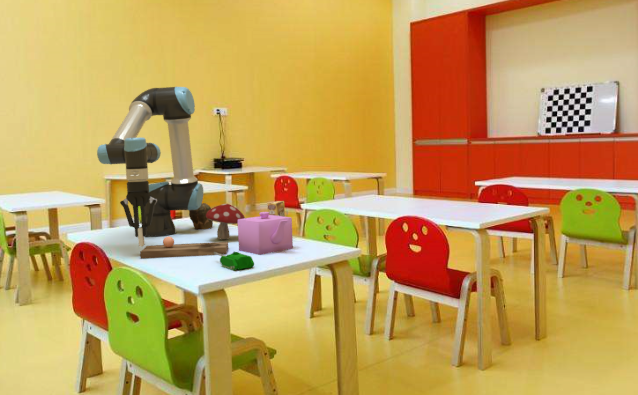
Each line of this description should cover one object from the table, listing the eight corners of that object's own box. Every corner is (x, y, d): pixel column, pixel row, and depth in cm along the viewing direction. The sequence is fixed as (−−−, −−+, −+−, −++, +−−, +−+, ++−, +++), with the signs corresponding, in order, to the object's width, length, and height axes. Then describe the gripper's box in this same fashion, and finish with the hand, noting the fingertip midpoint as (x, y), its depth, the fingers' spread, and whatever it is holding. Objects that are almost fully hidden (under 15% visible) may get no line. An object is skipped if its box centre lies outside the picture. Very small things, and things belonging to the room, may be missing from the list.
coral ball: (164, 246, 212) (163, 235, 212) (175, 246, 212) (174, 235, 212) (162, 248, 208) (161, 237, 208) (173, 248, 208) (172, 237, 208)
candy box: (278, 241, 230) (276, 203, 229) (268, 241, 231) (267, 203, 230) (286, 237, 238) (284, 200, 237) (276, 237, 240) (275, 200, 238)
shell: (191, 227, 278) (190, 202, 277) (214, 226, 279) (213, 201, 278) (188, 230, 268) (187, 204, 266) (212, 229, 268) (211, 203, 267)
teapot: (272, 257, 198) (270, 217, 197) (231, 249, 217) (229, 212, 216) (305, 251, 208) (304, 212, 207) (264, 243, 227) (262, 208, 226)
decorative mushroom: (243, 235, 248) (241, 200, 246) (248, 241, 232) (246, 204, 231) (205, 238, 244) (203, 202, 242) (208, 244, 228) (206, 206, 227)
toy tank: (227, 259, 198) (226, 245, 197) (254, 268, 183) (253, 252, 182) (209, 262, 194) (208, 248, 193) (235, 272, 179) (234, 256, 178)
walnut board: (147, 252, 216) (147, 245, 215) (228, 248, 218) (228, 241, 218) (140, 258, 204) (140, 251, 204) (226, 254, 206) (225, 247, 206)
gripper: (116, 182, 203) (120, 248, 205) (154, 180, 204) (158, 246, 206) (121, 180, 210) (125, 244, 212) (158, 179, 211) (161, 242, 214)
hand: (141, 245), depth 209 cm, fingers closed
